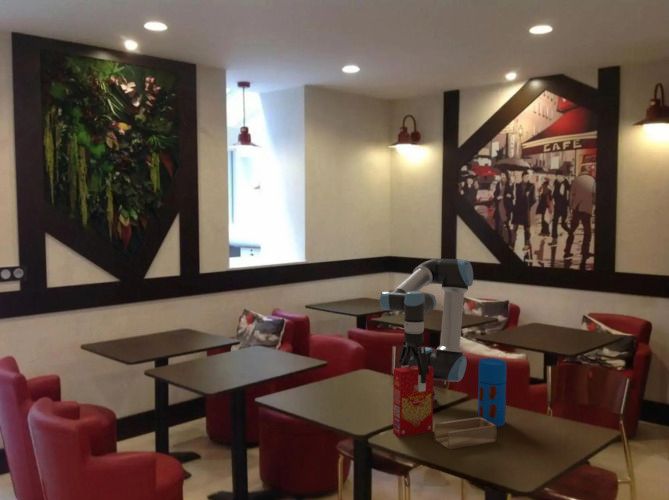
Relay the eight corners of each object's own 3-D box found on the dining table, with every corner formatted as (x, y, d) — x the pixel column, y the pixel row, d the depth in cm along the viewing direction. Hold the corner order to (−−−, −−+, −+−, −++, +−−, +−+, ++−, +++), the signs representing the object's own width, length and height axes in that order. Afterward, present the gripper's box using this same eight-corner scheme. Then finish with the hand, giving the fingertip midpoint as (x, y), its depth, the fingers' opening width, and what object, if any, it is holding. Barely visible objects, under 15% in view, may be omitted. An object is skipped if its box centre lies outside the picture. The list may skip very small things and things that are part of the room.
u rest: (434, 439, 229) (434, 423, 228) (480, 432, 236) (480, 416, 236) (449, 449, 219) (449, 433, 219) (496, 441, 226) (496, 425, 226)
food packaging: (400, 437, 231) (400, 372, 229) (393, 432, 236) (393, 368, 234) (432, 431, 237) (433, 367, 236) (425, 426, 242) (425, 364, 240)
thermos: (506, 427, 241) (507, 365, 239) (478, 425, 243) (479, 364, 241) (504, 418, 252) (505, 358, 250) (477, 416, 254) (478, 357, 252)
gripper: (390, 326, 244) (389, 379, 245) (421, 338, 221) (420, 396, 222) (407, 325, 247) (406, 377, 248) (439, 337, 224) (438, 394, 225)
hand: (413, 386), depth 235 cm, fingers open, 13 cm apart
